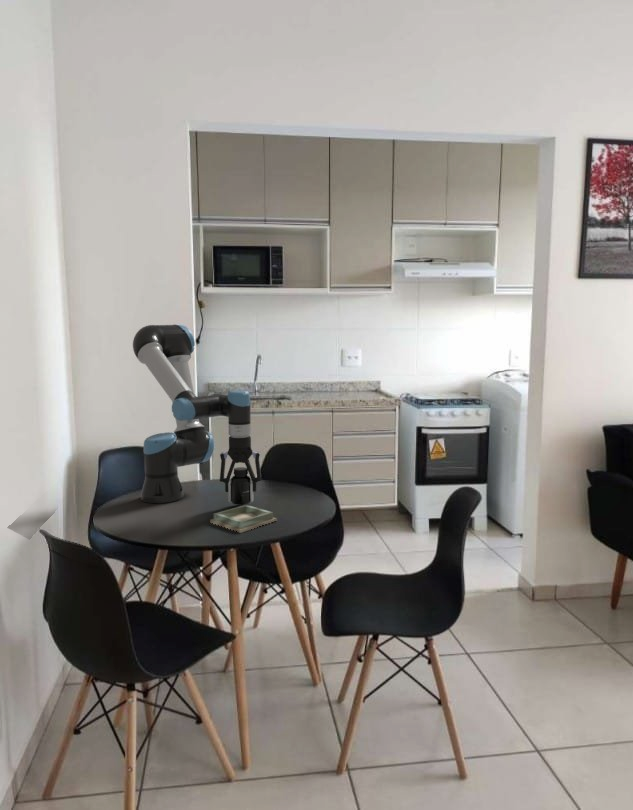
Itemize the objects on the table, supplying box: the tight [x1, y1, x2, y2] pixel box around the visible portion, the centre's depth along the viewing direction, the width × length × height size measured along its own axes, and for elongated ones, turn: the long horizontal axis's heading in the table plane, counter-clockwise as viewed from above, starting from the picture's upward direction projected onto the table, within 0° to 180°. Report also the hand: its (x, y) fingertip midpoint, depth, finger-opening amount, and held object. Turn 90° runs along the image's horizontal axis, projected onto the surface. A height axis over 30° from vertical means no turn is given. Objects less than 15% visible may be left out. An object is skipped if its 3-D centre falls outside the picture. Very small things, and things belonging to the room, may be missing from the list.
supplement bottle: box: [230, 466, 252, 506], centre depth 214 cm, size 7×7×12 cm
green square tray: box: [209, 504, 278, 534], centre depth 197 cm, size 15×15×3 cm
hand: (241, 500), depth 215 cm, fingers closed on supplement bottle, 7 cm apart
